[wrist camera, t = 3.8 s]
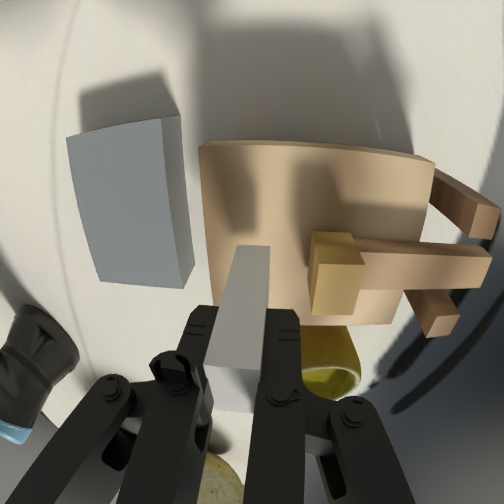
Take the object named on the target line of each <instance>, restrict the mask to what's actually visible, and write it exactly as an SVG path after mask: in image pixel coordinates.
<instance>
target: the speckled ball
mask: <svg viewBox="0 0 504 504" xmlns="http://www.w3.org/2000/svg"><path fill="white" fill-rule="evenodd" d="M243 496H244V489H243V486H242V483H241V481H240V479H239V477H238V475H237V474H236V472H235V471H234V470H233V469H232V467H231V466H230V465H229V464H228V463H227V462H226V461H224V460H223V459H222V458H220V457H219V456H217V455H216V454H214V453H212V452H210V451H208V450H207V454H206V459H205V464H204V469H203V474H202V479H201V484H200V490H199V495H198V500H197V504H242V503H243Z"/></svg>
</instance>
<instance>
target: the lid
mask: <svg viewBox="0 0 504 504" xmlns="http://www.w3.org/2000/svg"><path fill="white" fill-rule="evenodd" d="M199 162H200V177H201V190H202V202H203V214H204V224H205V235H206V245H207V254H208V263H209V272H210V281H211V289H212V297H213V305H214V306H220V302H221V299H222V295H223V292H224V288H225V285H226V281H227V278H228V274H229V271H230V267H231V264H232V261H233V257H234V254H235V250H236V247H237V245H259V246H271V249H270V289H269V305H268V308H273V309H294V311H295V312H296V314H297V316H298V317H299V319H300V325H381V324H391V323H392V320H393V318H394V315H395V313H396V310H397V308H398V305H399V302H400V300H401V297H402V294H403V292H404V290H359V294H358V298H357V301H356V305H355V308H354V312H353V315H311V307H310V298H309V290H308V281H307V273H308V265H309V256H310V246H311V236H312V231H321V232H343V233H351V235H352V237H353V238H357V239H376V240H395V241H412V242H419V241H420V237H421V233H422V229H423V225H424V221H425V217H426V212H427V208H428V203H429V198H430V193H431V188H432V183H433V177H434V170H435V164H436V163H434V162H432V161H430V160H428V159H425V158H423V157H421V156H419V155H414V154H408V153H403V152H397V151H390V150H384V149H377V148H369V147H361V146H352V145H342V144H331V143H319V142H302V141H277V140H229V141H208V142H206V143H204V144H203V145H201V146H199Z"/></svg>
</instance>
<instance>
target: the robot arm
mask: <svg viewBox="0 0 504 504" xmlns="http://www.w3.org/2000/svg"><path fill="white" fill-rule="evenodd" d="M270 249H271V246H259V245H237V247H236V250H235V254H234V257H233V261H232V264H231V267H230V271H229V274H228V278H227V281H226V285H225V288H224V292H223V295H222V299H221V302H220V306H208V305H198V306H197V307H196V308H195V309H194V310H193V311H192V312H191V313H190V316H189V318H188V321H187V324H186V326H185V329H184V331H183V335H182V337H181V339H180V342H179V345H178V347H177V350H175V351H166V352H163V353H160V354H159V355H157V356H156V357H154V358H153V359H152V361H151V362H150V364H149V367H150V369H151V371H152V373H153V375H154V377H155V380H152V381H146V382H133V383H129V381H128V380H127V379H126V378H124V377H123V376H121V375H118V374H108V375H106V376H103V377H101V378H100V379H99V380H98V381H97V382H96V383H95V384H94V385H93V386H92V388H91V389H90V390H89V391H88V393H87V394H86V395H85V396H84V398H83V399H82V400H81V401H80V403H79V404H78V405H77V406H76V408H75V409H74V410H73V411H72V413H71V414H70V415H69V416H68V418H67V419H66V420H65V422H64V423H63V424H62V425H61V427H60V428H59V429H58V431H57V432H56V433H55V435H54V436H53V437H52V439H51V440H50V441H49V442H48V444H47V445H46V446H45V448H44V449H43V450H42V452H41V453H40V455H39V456H38V457H37V459H36V460H35V462H34V463H33V464H32V466H31V467H30V468H29V470H28V471H27V472H26V474H25V476H24V477H23V478H22V479H21V481H20V482H19V484H18V485H17V487H16V488H15V490H14V491H13V492H12V494H11V495H10V497H9V498H8V500H7V501H6V503H5V504H110V502H111V501H112V499H113V498H114V496H115V495H116V493H117V492H118V490H119V489H120V491H119V495H118V498H117V502H116V504H197V500H198V495H199V490H200V484H201V479H202V474H203V469H204V464H205V459H206V454H207V449H208V444H209V439H210V434H211V429H212V417H211V413H212V409H213V404H214V408H215V410H222V411H231V412H242V413H254V416H253V424H252V433H251V441H250V449H249V457H248V465H247V473H246V481H245V488H244V496H243V503H242V504H304V479H305V478H304V477H305V476H304V475H305V452H307V453H310V454H314V455H315V457H316V461H317V464H318V467H319V471H320V474H321V478H322V481H323V485H324V488H325V491H326V495H327V498H328V502H329V504H415V501H414V498H413V496H412V493H411V491H410V488H409V485H408V483H407V481H406V478H405V475H404V473H403V471H402V468H401V466H400V463H399V461H398V459H397V456H396V454H395V451H394V449H393V447H392V444H391V442H390V440H389V438H388V435H387V433H386V431H385V429H384V426H383V424H382V422H381V419H380V417H379V416H378V413H377V411H376V409H375V408H374V406H373V405H372V403H371V402H370V401H368V400H366V399H365V398H363V397H358V396H348V397H345V398H343V399H340V400H338V401H334V400H330V399H327V398H323V397H320V396H317V395H315V394H314V393H312V392H311V391H309V389H308V388H307V387H306V386H305V384H304V382H303V379H302V362H301V336H300V319H299V317H298V316H297V314H296V312H295V311H294V309H273V308H268V305H269V289H270ZM79 360H80V356H79V352H78V350H77V348H76V346H75V344H74V343H73V341H72V340H71V339H70V337H69V336H68V335H67V334H66V332H65V331H64V330H63V329H62V328H61V327H60V326H59V325H58V324H57V323H56V322H55V321H54V320H53V319H51V318H50V317H49V316H48V315H46V314H45V313H44V312H42V311H41V310H39V309H37V308H35V307H33V306H30V305H24V306H22V307H21V308H20V310H19V311H18V312H17V313H16V315H15V317H14V321H13V323H12V326H11V328H10V331H9V334H8V337H7V340H6V342H5V344H4V345H3V347H2V348H1V349H0V436H2V437H4V438H5V439H7V440H9V441H11V442H13V443H16V444H22V443H24V442H25V440H26V439H27V437H28V435H29V434H30V432H31V431H32V430H33V426H34V424H35V421H36V419H37V417H38V415H39V413H40V411H41V409H42V407H43V405H44V403H45V401H46V400H47V398H48V396H49V394H50V392H51V390H52V388H53V387H54V386H55V385H56V384H57V383H58V382H59V381H61V380H62V379H63V378H64V377H65V376H66V375H67V374H68V373H70V372H72V371H73V370H74V369H75V367H76V366H77V364H78V362H79ZM120 487H121V488H120Z"/></svg>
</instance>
